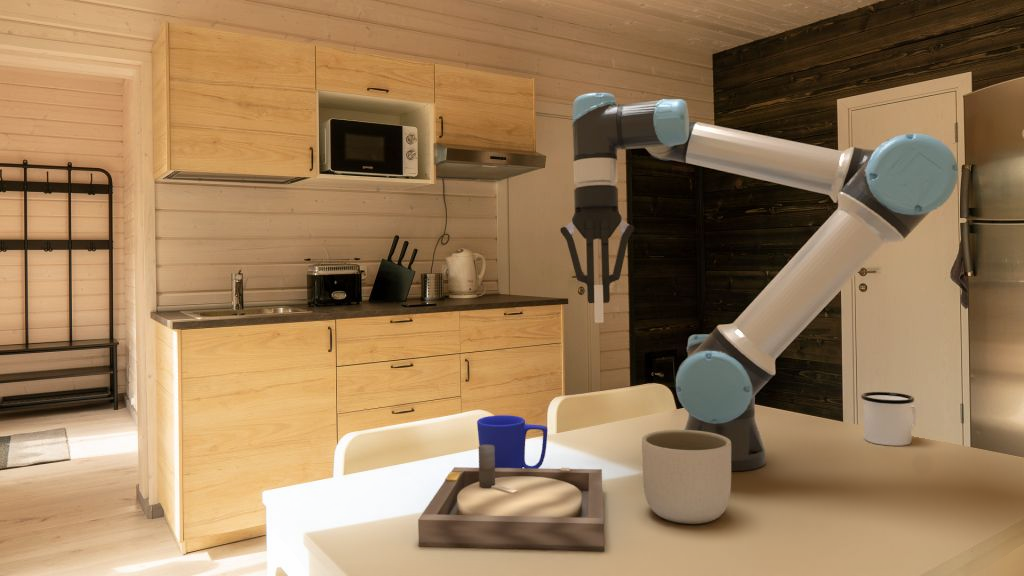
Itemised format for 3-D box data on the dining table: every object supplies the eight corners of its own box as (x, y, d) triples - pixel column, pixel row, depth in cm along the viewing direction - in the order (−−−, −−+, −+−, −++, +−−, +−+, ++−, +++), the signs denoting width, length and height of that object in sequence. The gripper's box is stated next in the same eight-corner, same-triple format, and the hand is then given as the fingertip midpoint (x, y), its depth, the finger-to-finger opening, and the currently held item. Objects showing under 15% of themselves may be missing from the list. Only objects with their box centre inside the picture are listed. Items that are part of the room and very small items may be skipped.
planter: (717, 537, 94) (717, 455, 93) (629, 520, 100) (628, 444, 100) (741, 508, 104) (741, 435, 104) (660, 495, 111) (659, 426, 110)
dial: (606, 507, 104) (605, 450, 103) (525, 545, 90) (524, 479, 90) (515, 484, 116) (514, 433, 115) (431, 514, 102) (430, 456, 102)
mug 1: (544, 487, 116) (543, 426, 116) (472, 484, 118) (471, 424, 118) (551, 472, 124) (550, 416, 124) (484, 470, 126) (483, 414, 126)
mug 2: (888, 449, 135) (888, 402, 135) (850, 438, 144) (850, 393, 144) (935, 442, 139) (935, 397, 139) (895, 432, 148) (895, 389, 148)
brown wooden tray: (602, 490, 114) (601, 467, 113) (604, 551, 90) (603, 521, 90) (454, 488, 116) (454, 465, 116) (418, 546, 92) (418, 517, 92)
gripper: (632, 187, 126) (635, 319, 126) (558, 189, 127) (562, 321, 128) (635, 182, 118) (638, 323, 119) (557, 185, 120) (560, 324, 120)
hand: (599, 322), depth 123 cm, fingers closed
